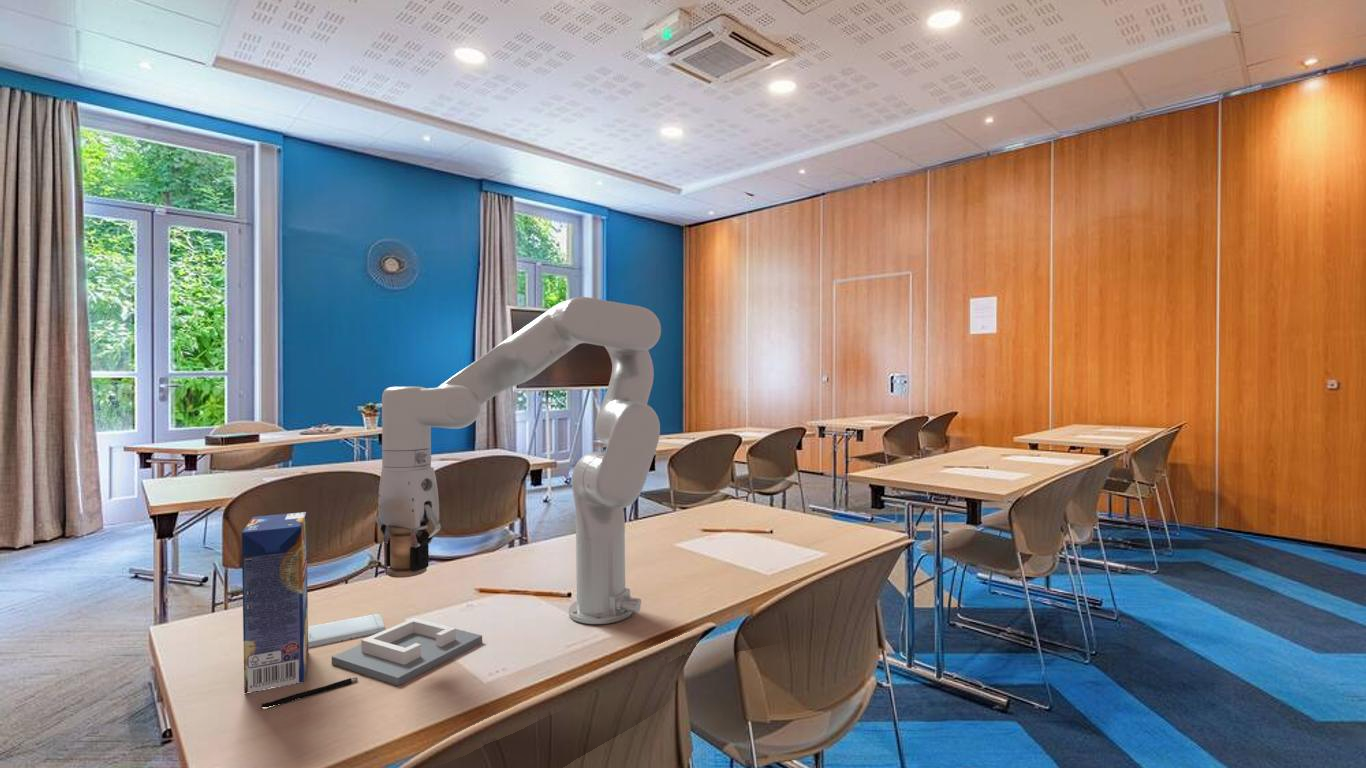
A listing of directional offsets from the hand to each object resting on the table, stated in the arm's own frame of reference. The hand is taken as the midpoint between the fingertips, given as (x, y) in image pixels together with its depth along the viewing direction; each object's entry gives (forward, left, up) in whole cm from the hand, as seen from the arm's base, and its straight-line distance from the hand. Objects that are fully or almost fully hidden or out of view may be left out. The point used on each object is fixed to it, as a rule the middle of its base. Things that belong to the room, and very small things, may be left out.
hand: (407, 565), depth 104 cm
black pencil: (+1, +16, -15) cm, 22 cm away
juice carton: (+13, +14, -15) cm, 24 cm away
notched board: (0, 0, -15) cm, 15 cm away
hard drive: (+18, -1, -16) cm, 24 cm away
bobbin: (0, 0, -1) cm, 1 cm away
